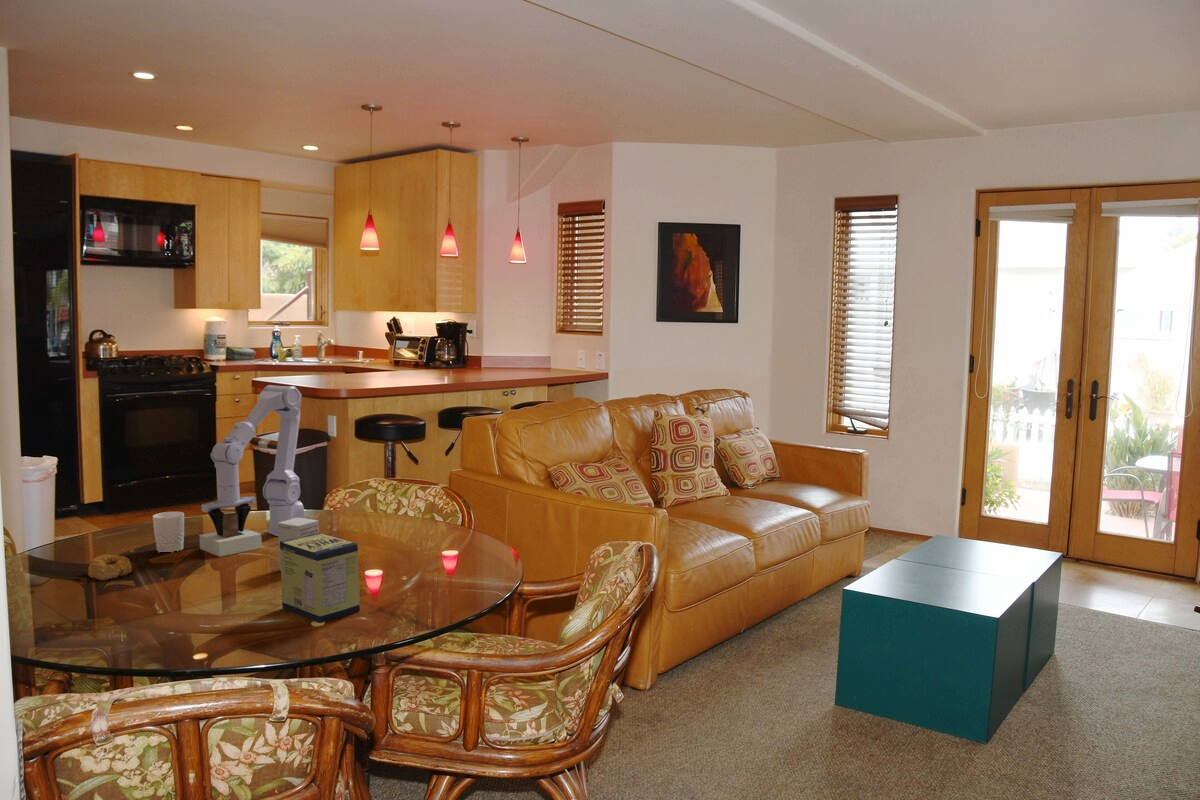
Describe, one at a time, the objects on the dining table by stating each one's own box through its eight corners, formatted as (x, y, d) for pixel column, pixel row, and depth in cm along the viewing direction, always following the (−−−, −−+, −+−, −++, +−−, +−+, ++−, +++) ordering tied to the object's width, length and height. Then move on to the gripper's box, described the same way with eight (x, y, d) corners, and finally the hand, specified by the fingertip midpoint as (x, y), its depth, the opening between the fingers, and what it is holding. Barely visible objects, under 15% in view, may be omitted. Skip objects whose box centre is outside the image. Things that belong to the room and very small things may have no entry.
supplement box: (278, 570, 231) (276, 522, 230) (300, 563, 238) (298, 516, 237) (299, 574, 228) (297, 525, 227) (321, 567, 235) (319, 519, 233)
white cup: (177, 553, 247) (175, 518, 245) (149, 553, 247) (147, 518, 246) (191, 546, 254) (189, 511, 253) (163, 546, 255) (161, 511, 254)
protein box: (321, 596, 211) (319, 531, 209) (361, 611, 201) (359, 543, 200) (280, 608, 203) (278, 541, 201) (320, 623, 193) (318, 553, 191)
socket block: (241, 540, 261) (240, 526, 260) (261, 548, 253) (261, 534, 252) (200, 548, 252) (199, 534, 251) (219, 556, 244) (219, 542, 243)
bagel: (82, 583, 221) (81, 564, 221) (94, 570, 232) (93, 552, 231) (126, 580, 224) (126, 561, 223) (137, 568, 234) (136, 550, 234)
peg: (238, 536, 254) (237, 512, 254) (238, 540, 251) (237, 515, 250) (222, 538, 253) (221, 513, 252) (223, 541, 249) (222, 516, 248)
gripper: (246, 479, 258) (248, 525, 260) (195, 487, 248) (198, 535, 249) (258, 482, 254) (260, 530, 255) (207, 490, 243) (209, 539, 244)
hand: (230, 533), depth 252 cm, fingers closed on peg, 5 cm apart
